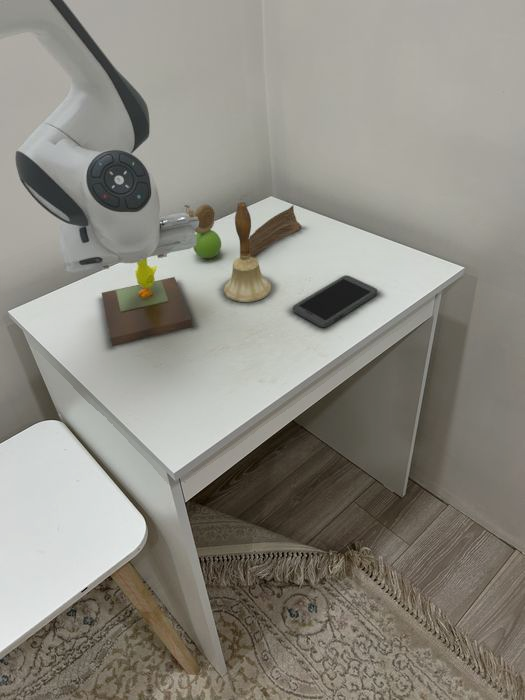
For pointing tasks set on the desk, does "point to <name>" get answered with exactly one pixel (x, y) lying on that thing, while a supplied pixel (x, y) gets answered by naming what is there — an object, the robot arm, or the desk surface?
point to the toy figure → (145, 277)
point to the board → (145, 311)
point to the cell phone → (334, 301)
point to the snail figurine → (205, 232)
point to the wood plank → (273, 231)
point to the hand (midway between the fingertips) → (132, 258)
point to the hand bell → (246, 265)
